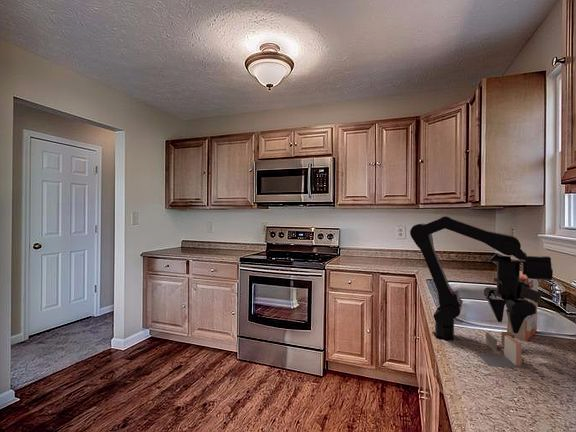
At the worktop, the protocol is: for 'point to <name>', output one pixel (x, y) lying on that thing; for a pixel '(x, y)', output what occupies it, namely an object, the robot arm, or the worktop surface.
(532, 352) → the worktop surface
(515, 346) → the glazed tile
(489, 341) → the walnut turner
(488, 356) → the slate mat
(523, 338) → the cracker box
